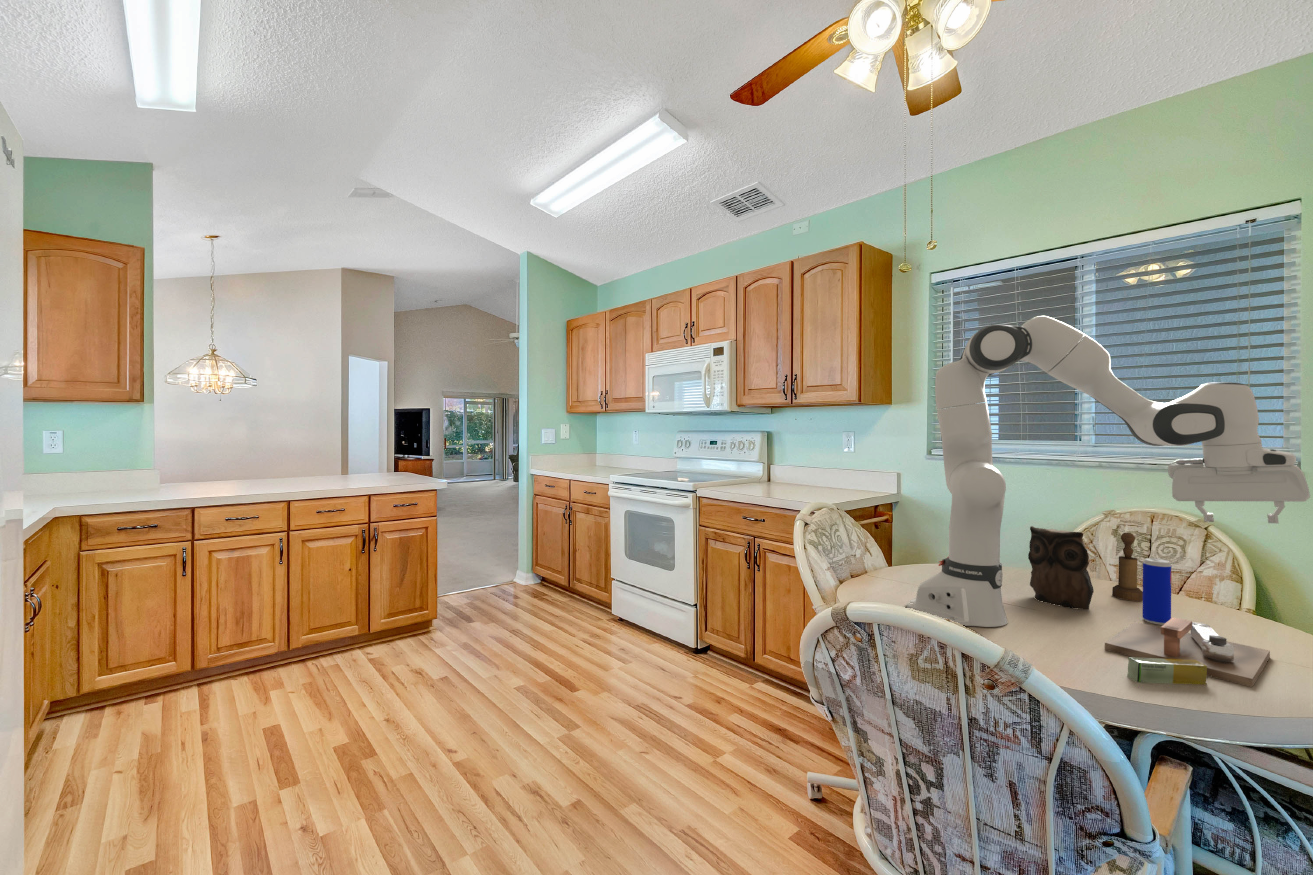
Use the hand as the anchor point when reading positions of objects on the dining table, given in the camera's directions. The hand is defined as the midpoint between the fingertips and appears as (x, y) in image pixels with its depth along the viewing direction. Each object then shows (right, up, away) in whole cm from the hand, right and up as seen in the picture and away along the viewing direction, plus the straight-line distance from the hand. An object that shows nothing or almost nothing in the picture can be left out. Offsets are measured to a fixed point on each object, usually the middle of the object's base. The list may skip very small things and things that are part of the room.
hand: (1240, 522), depth 118 cm
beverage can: (-3, -27, +17) cm, 32 cm away
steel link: (-10, -25, -4) cm, 27 cm away
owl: (-13, -27, +33) cm, 44 cm away
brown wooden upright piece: (+7, -27, +36) cm, 45 cm away
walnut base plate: (-14, -27, -2) cm, 30 cm away
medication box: (-29, -28, -14) cm, 42 cm away
